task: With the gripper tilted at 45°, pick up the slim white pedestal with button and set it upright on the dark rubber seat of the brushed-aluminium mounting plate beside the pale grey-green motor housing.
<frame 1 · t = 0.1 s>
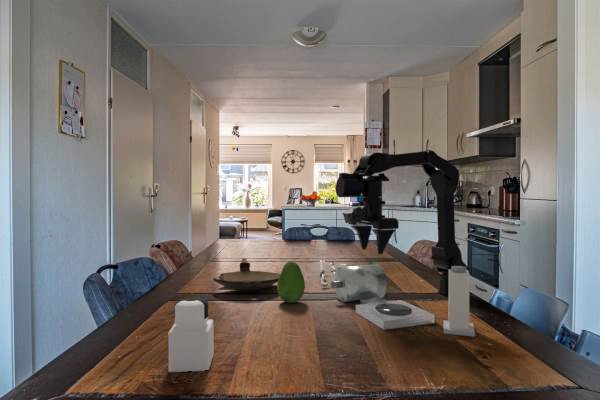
hand: (371, 251, 114), 15 cm above the table, tool pointing down, fingers open, 9 cm apart
miniature set: (335, 278, 149), on the table
white pedestal with button: (458, 330, 91), on the table
avocado: (291, 303, 115), on the table
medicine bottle: (192, 364, 74), on the table
oil lamp: (251, 288, 134), on the table
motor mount: (393, 317, 101), on the table
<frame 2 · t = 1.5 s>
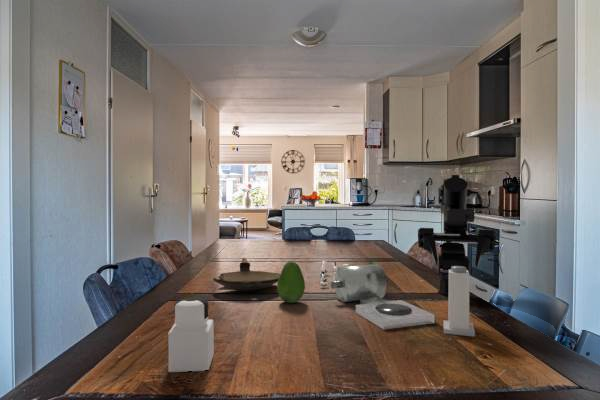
hand: (456, 265, 99), 13 cm above the table, tool tilted 45°, fingers open, 9 cm apart
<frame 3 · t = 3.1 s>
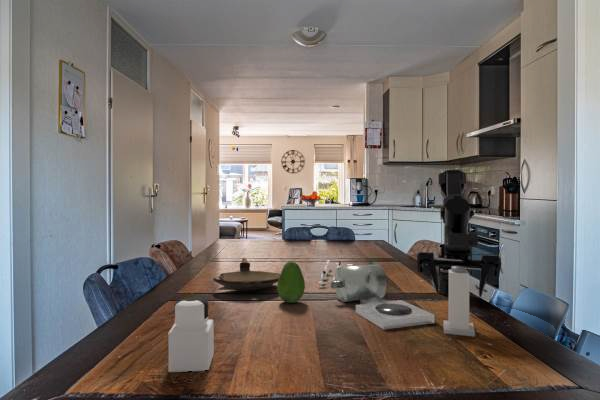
hand: (458, 294, 92), 8 cm above the table, tool tilted 45°, fingers open, 9 cm apart
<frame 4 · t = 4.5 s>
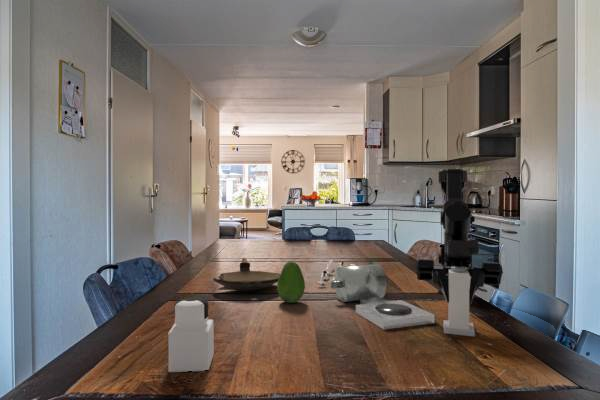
hand: (458, 303, 90), 7 cm above the table, tool tilted 45°, fingers closed on white pedestal with button, 4 cm apart
white pedestal with button: (458, 330, 91), on the table, touching gripper
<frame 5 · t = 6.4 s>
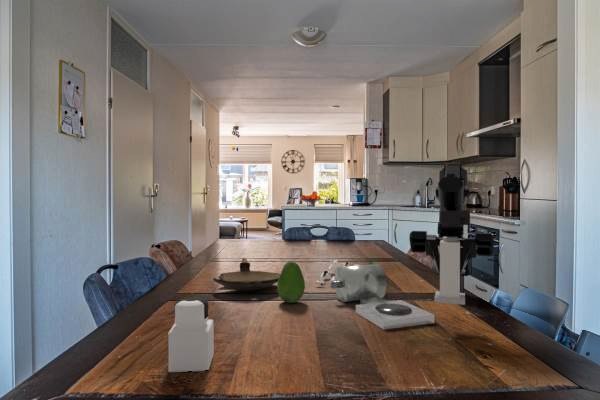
hand: (449, 272, 91), 13 cm above the table, tool tilted 45°, fingers closed on white pedestal with button, 4 cm apart
white pedestal with button: (449, 299, 92), point 7 cm above the table, touching gripper
when the fingers open (10 cm above the table, at t = 8.4 s): white pedestal with button drops 1 cm, resting on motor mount.
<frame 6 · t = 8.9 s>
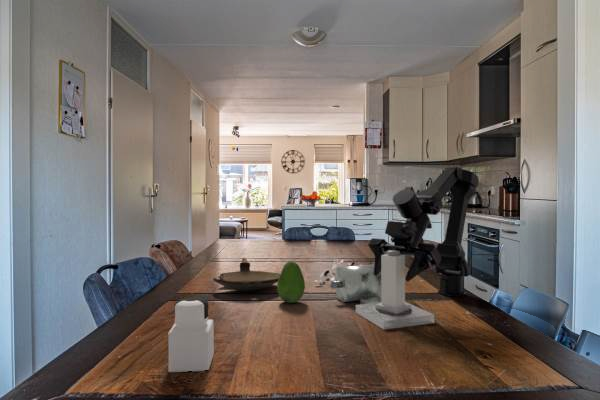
hand: (390, 277, 100), 10 cm above the table, tool tilted 45°, fingers open, 9 cm apart
white pedestal with button: (393, 308, 101), point 2 cm above the table, touching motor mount
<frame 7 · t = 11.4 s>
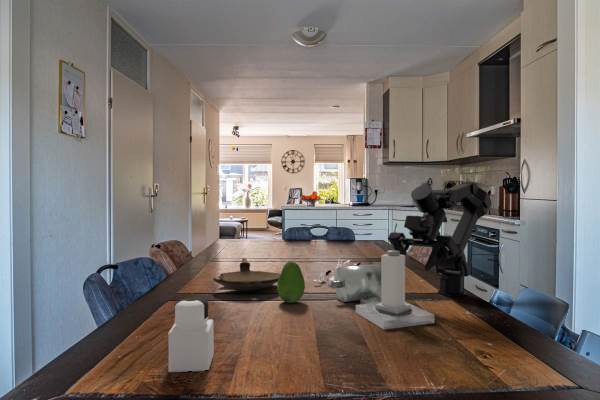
hand: (410, 268, 106), 11 cm above the table, tool tilted 45°, fingers open, 9 cm apart
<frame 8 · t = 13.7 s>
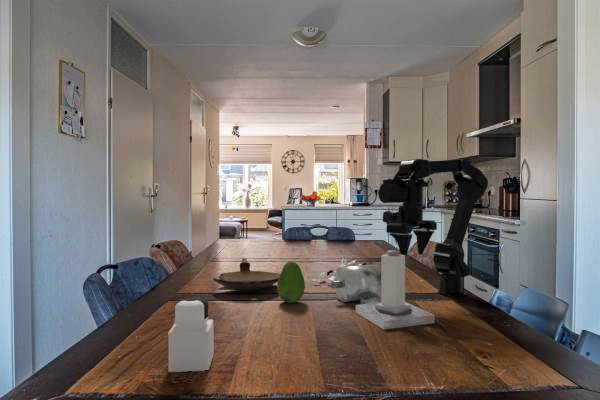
hand: (412, 256, 116), 13 cm above the table, tool pointing down, fingers open, 9 cm apart
at the end: white pedestal with button inside the target area on the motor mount (0.0 cm from its centre), point 2.3 cm above the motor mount's base; white pedestal with button tilted 0°; the gripper is holding nothing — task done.
